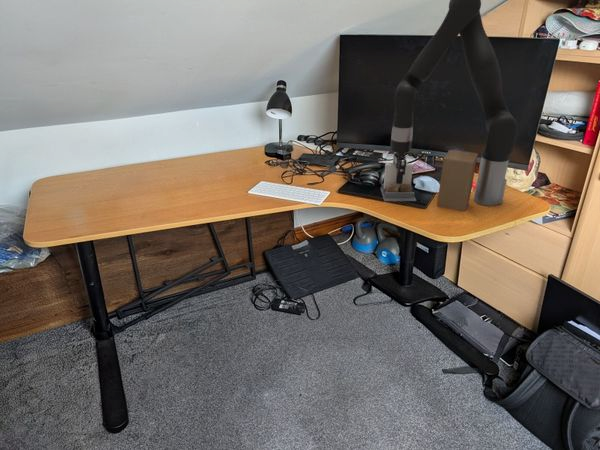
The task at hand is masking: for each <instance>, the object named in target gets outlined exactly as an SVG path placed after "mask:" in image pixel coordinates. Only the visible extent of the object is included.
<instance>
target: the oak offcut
mask: <svg viewBox="0 0 600 450" xmlns="http://www.w3.org/2000/svg"><path fill="white" fill-rule="evenodd" d="M386 192H398V185H387V189H386Z"/></svg>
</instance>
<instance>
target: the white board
mask: <svg viewBox="0 0 600 450" xmlns="http://www.w3.org/2000/svg"><path fill="white" fill-rule="evenodd" d="M398 166H399V165H398ZM413 168H414V164H413V163H407V162H406V169H405V175H403V180H402V184H397V183H396V178H397V169H396V167H395V163H393V162H391V163H385V165H384V176H383V184H384V188H387V185H398V188H400V185H411V186H412V177H413V170H414V169H413ZM400 171H402V169H401V170H400Z"/></svg>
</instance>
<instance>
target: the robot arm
mask: <svg viewBox="0 0 600 450" xmlns="http://www.w3.org/2000/svg"><path fill="white" fill-rule="evenodd" d="M481 6H482V0H449V4H448V11H447V13H446V16H445V18H444V19H443V21H442V23H441V24H440V26H439V28H438V29H437V30H436V32H435V33H434V35H433V36H432V37H431V38H430V39H429V41H428V42H427V43H426V44H425V46H424V47H423V48H422V50H421V51H420V52H419V54H418V56H417V57H416V58H415V60H414V62H413V63H412V65H410V68H409V70H408V71H407V72H406V74H405V75H404V77H402V79H401V80H400V82H399V83H398V85H397V86H396V90H395V94H394V113H393V121H392V127H391V128H392V129H391V134H390V135H391V138H390V146H389V147H390V148H389V149H390V151H392V152H393V159H392V163H395V167H396V169H397V178H396V183H397V184H402V180H403V175H405V169H406V163H407V156H406V153H410V152H411V150H412V143H413V142H412V141H413V135H414V133H413V130H414V129H413V127H414V119H415V118H414V115H415V114H414V108H415V104H416V98H417V96H416V95H417V93H418V91H419V90H420V88H421V87H422V85H423V84H424V82H425V81H427V80H428V78H429V77H430V76H431V75H432V73H434V70H435V69H436V68H437V66H438V64H439V63H440V62H441V60H442V58H443V57H444V56H445V54H446V53H447V51H448V50H449V48H450V47H451V45H452V44H453V42H454V41H455V40H456V39H457V37H458V36H459V35H460V39H461V43H462V49H463V50H462V51H463V54H464V60H465V64H466V67H467V71H468V74H469V78H470V80H471V83H472V86H473V87H474V90H475V93H476V95H477V97H478V98H479V101H480V103H481V104H480V105H481V107H482V108H481V109H482V112H483V118H484V123H485V128H486V131H487V133H488V134H487V138H486V142H485V143H486V144H485V146H484V148H483V149H482V153H481V158H480V163H479V169H478V174H477V179H476V184H475V185H476V186H475V191H474V197H473V201H475V203H477V204H479V205H483V206H489V207H490V206H491V207H494V206H498V205H502V203H503V200H504V195H505V191H506V185H507V179H506V176H507V170H508V166H509V165H508V164H509V161H510V159H511V158H510V157H511V155H512V153H513V151H514V148H515V143H516V139H517V135H518V128H519V126H518V122H517V120H516V119H515V118H514V116H513V115H512V114H511V112H510V110H509V108H508V106H507V104H506V101H505V97H504V94H503V82H502V75H501V74H502V73H501V69H500V66H499V61H498V58H497V55H496V52H495V49H494V47H493V45H492V43H491V41H490V39H489V37H488V35H487V33H486V31H485V28H484V25H483V21H482V20H483V19H482V17H481ZM398 165H399V166H398ZM401 169H402V171H400V170H401Z"/></svg>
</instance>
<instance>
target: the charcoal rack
mask: <svg viewBox="0 0 600 450" xmlns="http://www.w3.org/2000/svg"><path fill="white" fill-rule="evenodd" d="M386 189H387V188H384V183H381V187H380V191H381V195H382V199H383V201H384V202H416V201H417V199H416V197H415V192H414V191H413V187H412V188H411V192H399V191H400V188H398V192H386Z"/></svg>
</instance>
